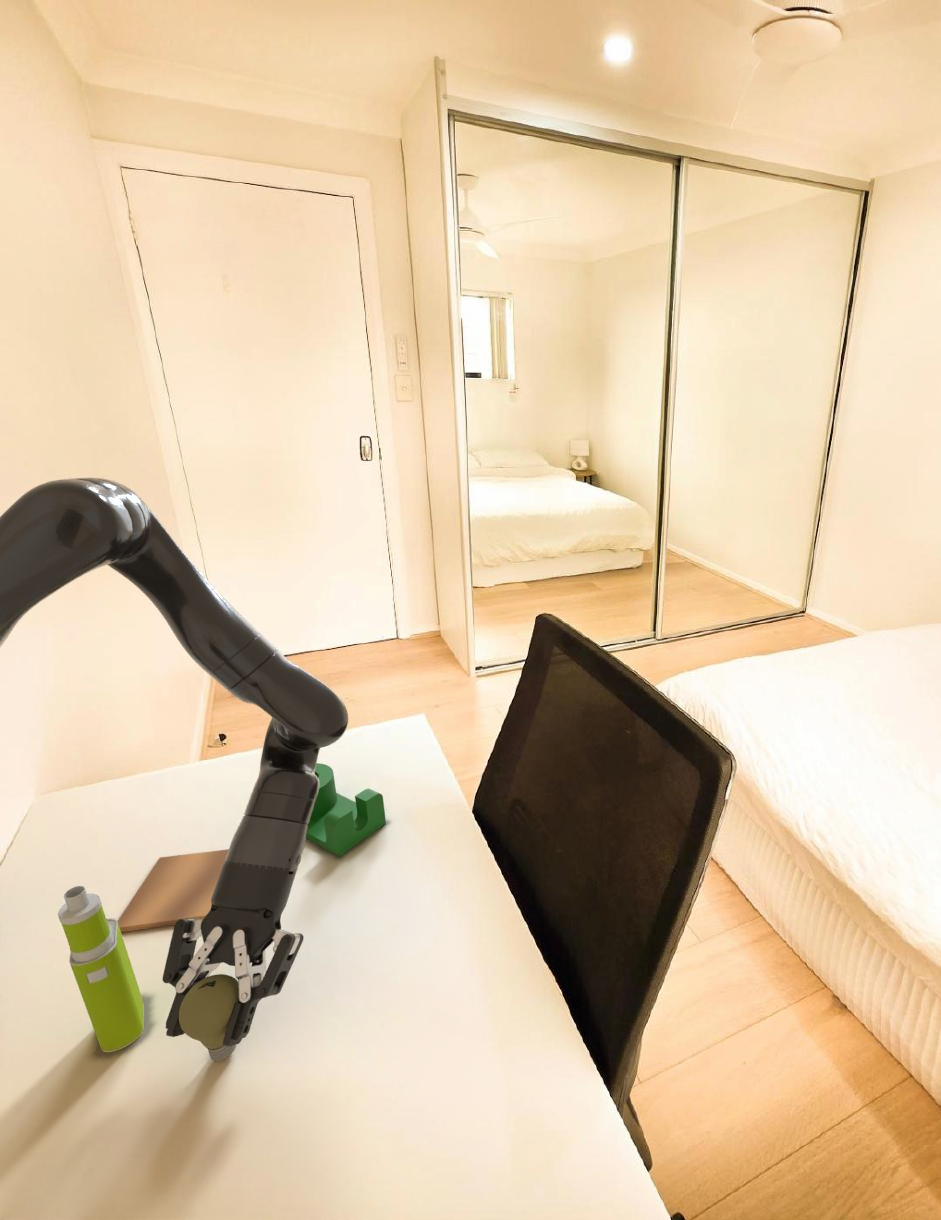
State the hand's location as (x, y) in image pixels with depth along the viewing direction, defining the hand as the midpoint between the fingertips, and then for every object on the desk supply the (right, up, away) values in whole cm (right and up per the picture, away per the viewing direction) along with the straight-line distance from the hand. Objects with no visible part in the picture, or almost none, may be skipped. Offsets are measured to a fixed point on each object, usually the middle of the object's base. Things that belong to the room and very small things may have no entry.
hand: (203, 1039), depth 61 cm
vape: (-13, -3, +6) cm, 14 cm away
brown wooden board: (-17, +4, +25) cm, 30 cm away
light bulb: (0, -4, +3) cm, 5 cm away
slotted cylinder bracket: (-6, +9, +39) cm, 40 cm away
